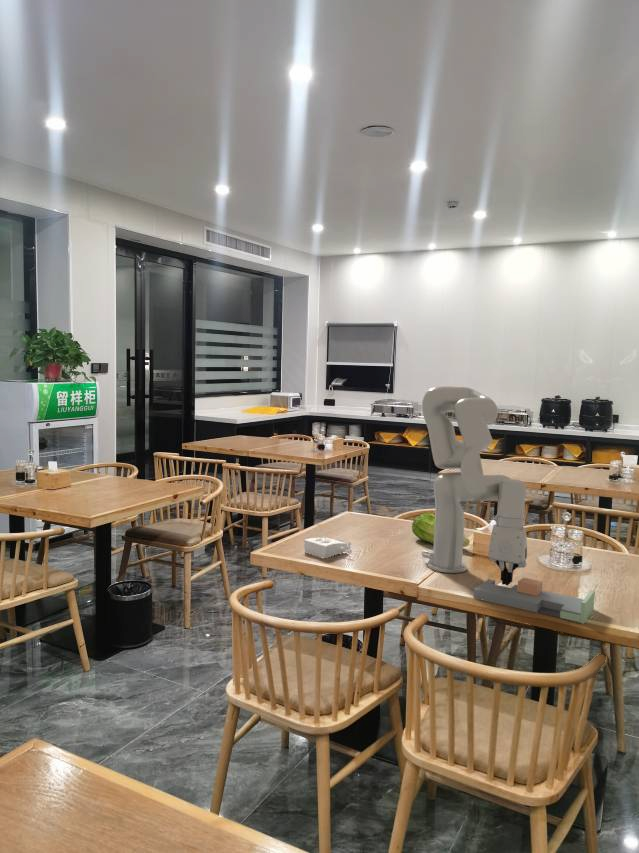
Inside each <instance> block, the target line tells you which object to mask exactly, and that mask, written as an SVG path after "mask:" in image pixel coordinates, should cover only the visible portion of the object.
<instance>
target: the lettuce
mask: <svg viewBox="0 0 639 853" xmlns="http://www.w3.org/2000/svg"><path fill="white" fill-rule="evenodd" d="M434 529H435V514H434V513H430V512H427V513H423V514H420V515H419V516H417V517H415V518H414V519H413V520H412V525H411V530H412V533H413V534H414V535H415V537H417V538H418V540H421V541H425V542H428V543H430V544H433V545H434ZM469 545H470V539H469V538H468V537H467V536H466V535H465V534H464V538H463V548H465V547H468V546H469Z"/></svg>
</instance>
